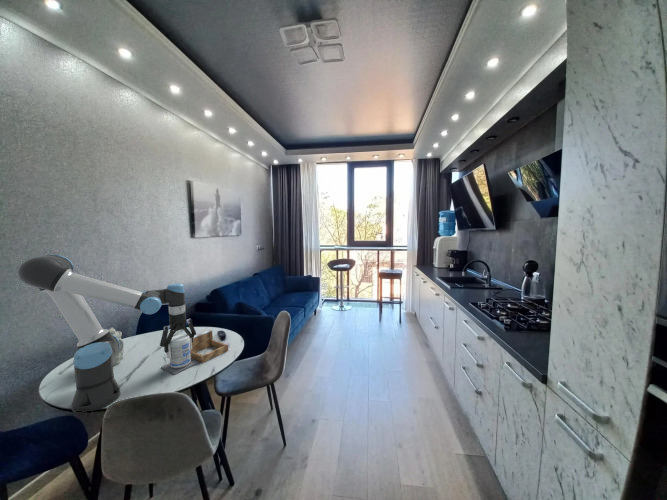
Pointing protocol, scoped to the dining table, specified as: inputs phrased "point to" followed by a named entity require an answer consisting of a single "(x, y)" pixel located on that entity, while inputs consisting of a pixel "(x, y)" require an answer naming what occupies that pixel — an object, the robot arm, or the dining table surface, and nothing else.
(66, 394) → the dining table surface
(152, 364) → the dining table surface
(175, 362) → the supplement tub
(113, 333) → the beige lumpy upright piece
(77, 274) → the robot arm
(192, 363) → the mat
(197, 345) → the frame
